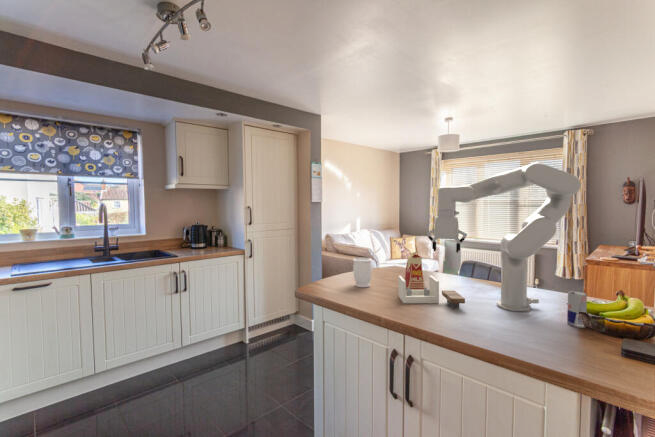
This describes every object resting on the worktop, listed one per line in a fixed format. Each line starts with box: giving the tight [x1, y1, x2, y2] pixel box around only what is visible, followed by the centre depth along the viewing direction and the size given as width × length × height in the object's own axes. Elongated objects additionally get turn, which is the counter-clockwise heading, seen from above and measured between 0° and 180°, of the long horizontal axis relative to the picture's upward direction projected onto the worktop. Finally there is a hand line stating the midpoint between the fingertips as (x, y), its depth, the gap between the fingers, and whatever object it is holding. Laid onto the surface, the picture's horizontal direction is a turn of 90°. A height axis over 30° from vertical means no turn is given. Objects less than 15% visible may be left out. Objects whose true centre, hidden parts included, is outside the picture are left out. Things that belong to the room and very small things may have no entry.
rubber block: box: [446, 299, 460, 310], centre depth 136 cm, size 2×8×3 cm, turn 178°
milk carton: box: [404, 251, 426, 290], centre depth 164 cm, size 9×9×20 cm
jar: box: [352, 256, 373, 288], centre depth 171 cm, size 11×10×15 cm
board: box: [441, 290, 466, 304], centre depth 136 cm, size 12×6×2 cm, turn 178°
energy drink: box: [566, 290, 588, 329], centre depth 112 cm, size 5×5×12 cm
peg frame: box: [397, 275, 440, 304], centre depth 145 cm, size 16×11×10 cm
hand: (446, 251), depth 141 cm, fingers open, 9 cm apart
